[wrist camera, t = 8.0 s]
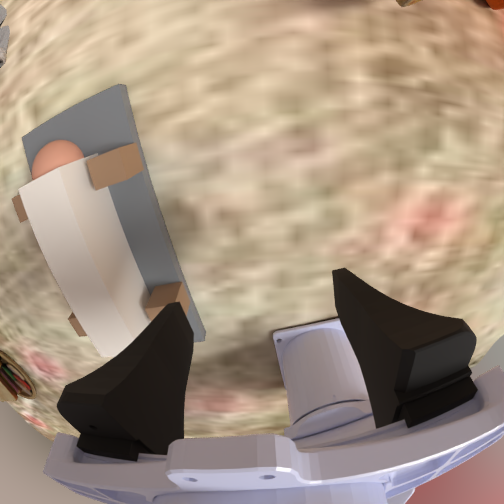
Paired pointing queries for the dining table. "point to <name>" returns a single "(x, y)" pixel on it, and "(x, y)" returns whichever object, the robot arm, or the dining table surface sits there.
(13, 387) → the toy sandwich meal
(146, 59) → the dining table surface
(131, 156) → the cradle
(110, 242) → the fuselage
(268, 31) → the dining table surface
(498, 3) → the toy helicopter
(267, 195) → the dining table surface
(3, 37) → the car model
